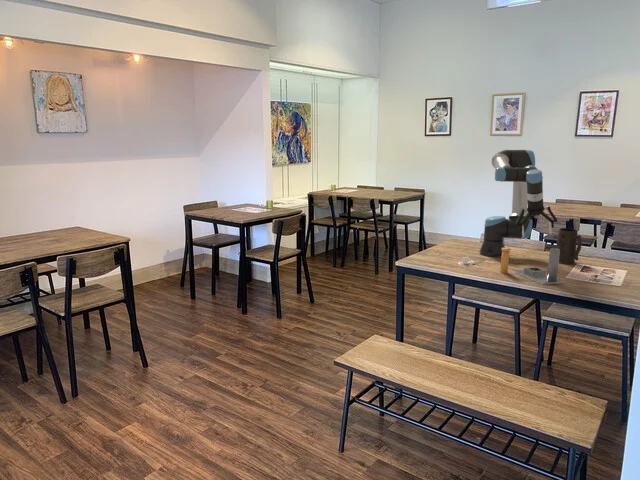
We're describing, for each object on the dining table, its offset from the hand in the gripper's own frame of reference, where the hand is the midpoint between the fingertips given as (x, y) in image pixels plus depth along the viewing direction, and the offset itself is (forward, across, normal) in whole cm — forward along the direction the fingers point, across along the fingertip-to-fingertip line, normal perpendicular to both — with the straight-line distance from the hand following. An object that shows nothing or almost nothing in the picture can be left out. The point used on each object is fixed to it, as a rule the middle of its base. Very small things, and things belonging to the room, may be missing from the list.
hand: (536, 234), depth 254 cm
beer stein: (+26, +17, +10) cm, 33 cm away
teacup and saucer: (+12, -37, -8) cm, 39 cm away
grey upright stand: (+11, -3, -25) cm, 28 cm away
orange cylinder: (+11, -19, -19) cm, 29 cm away
